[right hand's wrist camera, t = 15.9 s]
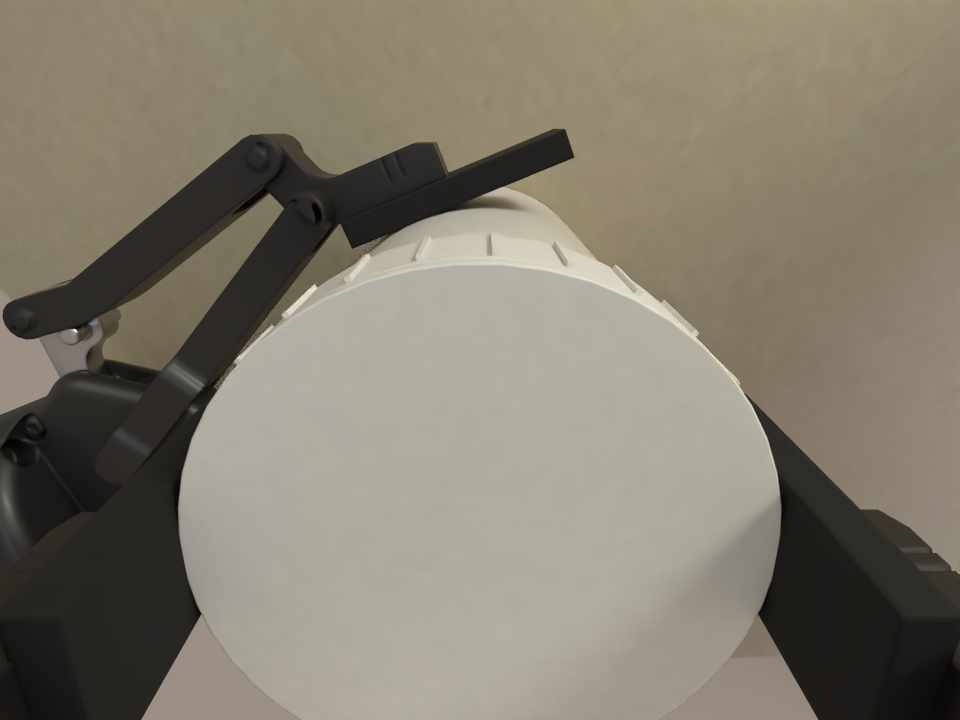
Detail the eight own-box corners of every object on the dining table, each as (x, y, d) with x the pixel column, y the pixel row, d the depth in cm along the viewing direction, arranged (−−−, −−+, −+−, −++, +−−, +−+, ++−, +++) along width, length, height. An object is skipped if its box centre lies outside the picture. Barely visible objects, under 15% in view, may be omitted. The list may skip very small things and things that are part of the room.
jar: (451, 436, 28) (417, 791, 13) (323, 268, 26) (100, 471, 11) (630, 328, 26) (829, 596, 11) (514, 136, 24) (572, 153, 9)
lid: (714, 661, 14) (757, 760, 12) (277, 683, 14) (240, 784, 12) (751, 212, 11) (821, 235, 9) (176, 251, 11) (99, 282, 9)
